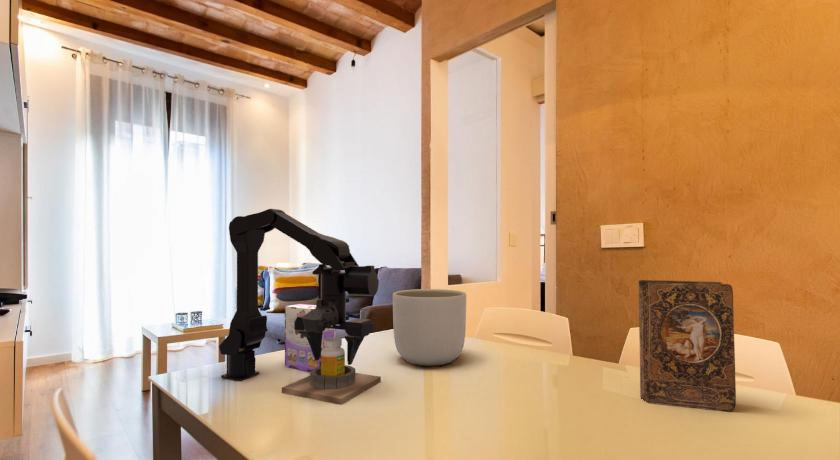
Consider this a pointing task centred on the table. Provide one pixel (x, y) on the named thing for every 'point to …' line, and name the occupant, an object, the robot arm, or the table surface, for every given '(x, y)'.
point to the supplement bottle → (332, 358)
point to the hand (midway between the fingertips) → (333, 362)
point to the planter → (429, 325)
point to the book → (687, 344)
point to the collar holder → (332, 386)
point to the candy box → (301, 340)
